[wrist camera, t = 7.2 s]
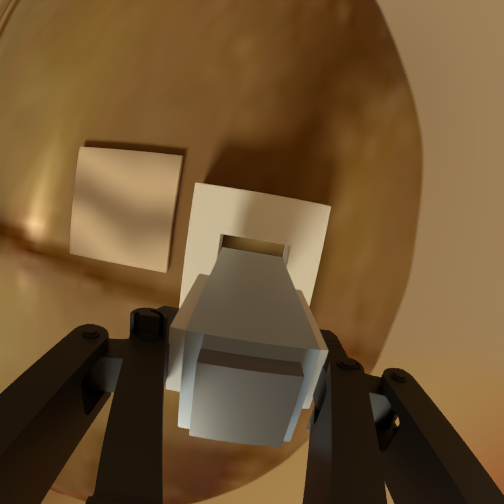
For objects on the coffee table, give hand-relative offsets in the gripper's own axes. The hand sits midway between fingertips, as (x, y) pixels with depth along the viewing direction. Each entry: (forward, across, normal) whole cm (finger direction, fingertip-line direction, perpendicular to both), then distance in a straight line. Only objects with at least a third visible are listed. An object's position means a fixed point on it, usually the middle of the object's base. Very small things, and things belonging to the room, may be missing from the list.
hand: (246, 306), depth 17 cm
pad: (+11, -12, +3) cm, 16 cm away
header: (+10, 0, -3) cm, 11 cm away
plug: (+5, 0, 0) cm, 5 cm away
